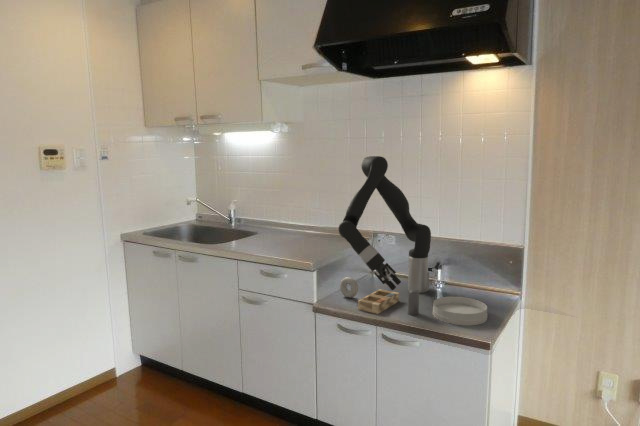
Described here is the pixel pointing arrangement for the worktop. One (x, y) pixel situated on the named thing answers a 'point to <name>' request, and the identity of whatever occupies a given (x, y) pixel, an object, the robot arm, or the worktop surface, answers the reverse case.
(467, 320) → the dish
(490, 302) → the worktop surface
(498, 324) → the worktop surface
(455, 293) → the worktop surface
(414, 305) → the plug
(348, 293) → the donut
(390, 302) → the socket board
